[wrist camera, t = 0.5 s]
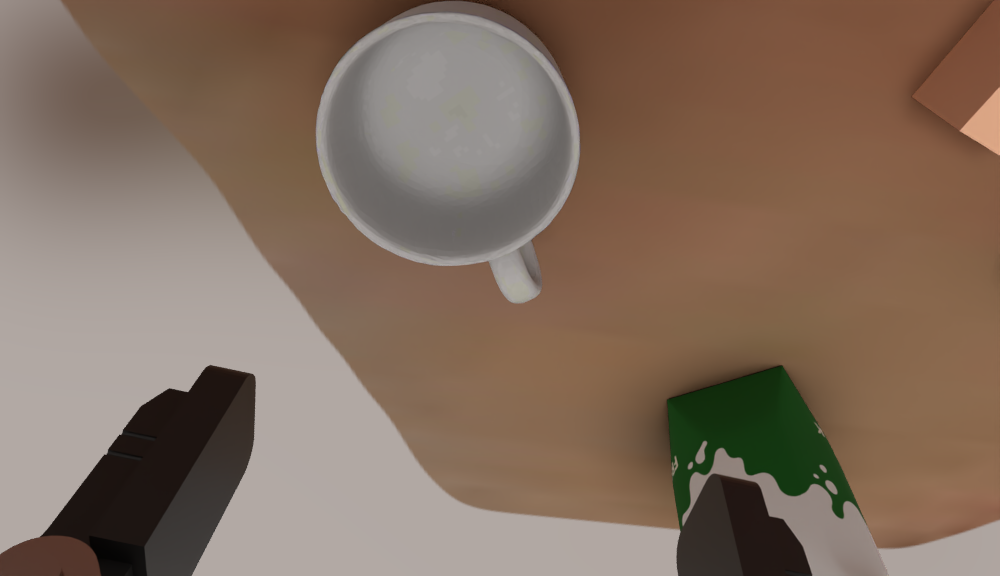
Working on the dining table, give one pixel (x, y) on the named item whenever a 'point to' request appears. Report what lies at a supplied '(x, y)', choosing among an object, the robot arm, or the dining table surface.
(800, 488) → the milk carton
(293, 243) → the dining table surface
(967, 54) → the terracotta cube
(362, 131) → the teacup
